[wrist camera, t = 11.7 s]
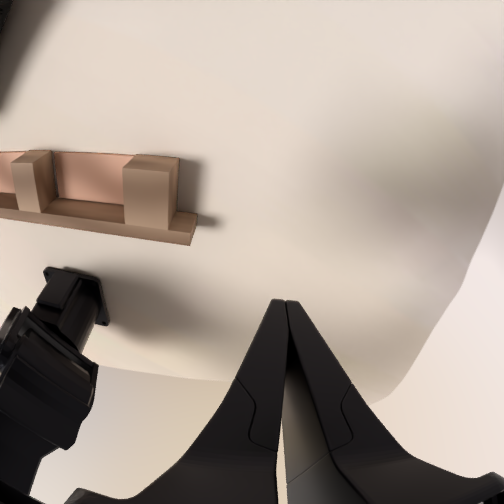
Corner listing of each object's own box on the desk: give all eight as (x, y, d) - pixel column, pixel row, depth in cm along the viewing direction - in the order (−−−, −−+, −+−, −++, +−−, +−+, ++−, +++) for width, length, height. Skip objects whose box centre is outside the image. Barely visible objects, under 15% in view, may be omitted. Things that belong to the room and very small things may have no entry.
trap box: (196, 225, 22) (188, 250, 20) (-48, 196, 20) (-64, 211, 18) (236, -59, 10) (232, -77, 8) (-59, 18, 8) (-80, 23, 6)
